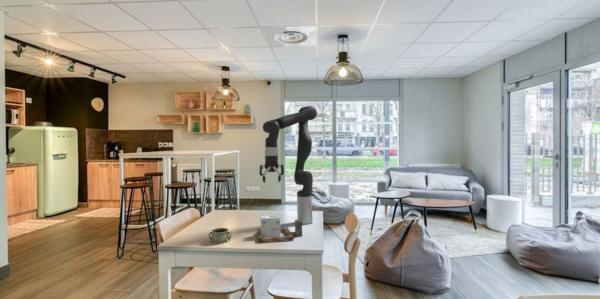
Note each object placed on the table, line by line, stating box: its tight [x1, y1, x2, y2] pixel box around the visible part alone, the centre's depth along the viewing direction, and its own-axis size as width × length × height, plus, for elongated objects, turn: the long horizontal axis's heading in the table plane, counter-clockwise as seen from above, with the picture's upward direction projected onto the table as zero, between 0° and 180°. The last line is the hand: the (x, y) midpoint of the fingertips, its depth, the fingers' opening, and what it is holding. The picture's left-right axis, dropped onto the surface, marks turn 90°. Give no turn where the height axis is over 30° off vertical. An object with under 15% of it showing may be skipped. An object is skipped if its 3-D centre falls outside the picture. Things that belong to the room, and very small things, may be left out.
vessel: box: [208, 227, 233, 245], centre depth 163 cm, size 12×9×6 cm
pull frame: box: [256, 219, 303, 244], centre depth 171 cm, size 24×18×8 cm
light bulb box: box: [260, 214, 281, 238], centre depth 173 cm, size 11×7×11 cm, turn 101°
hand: (271, 182), depth 185 cm, fingers open, 8 cm apart
